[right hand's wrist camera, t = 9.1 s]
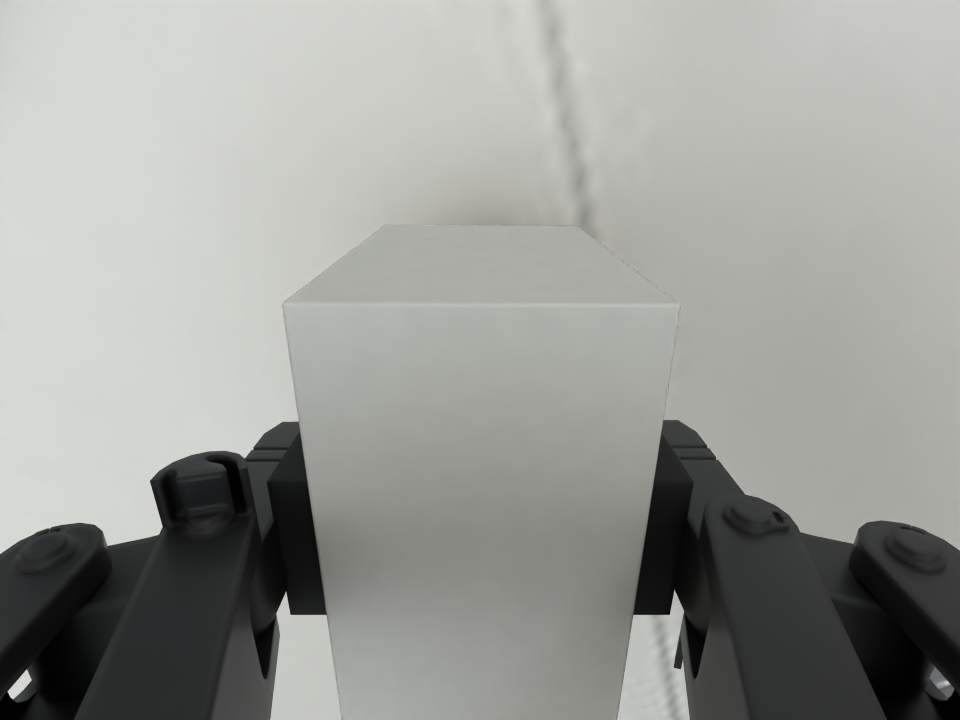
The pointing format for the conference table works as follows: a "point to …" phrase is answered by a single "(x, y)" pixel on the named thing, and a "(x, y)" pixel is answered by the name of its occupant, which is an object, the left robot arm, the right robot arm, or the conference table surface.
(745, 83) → the conference table surface
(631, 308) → the beam
